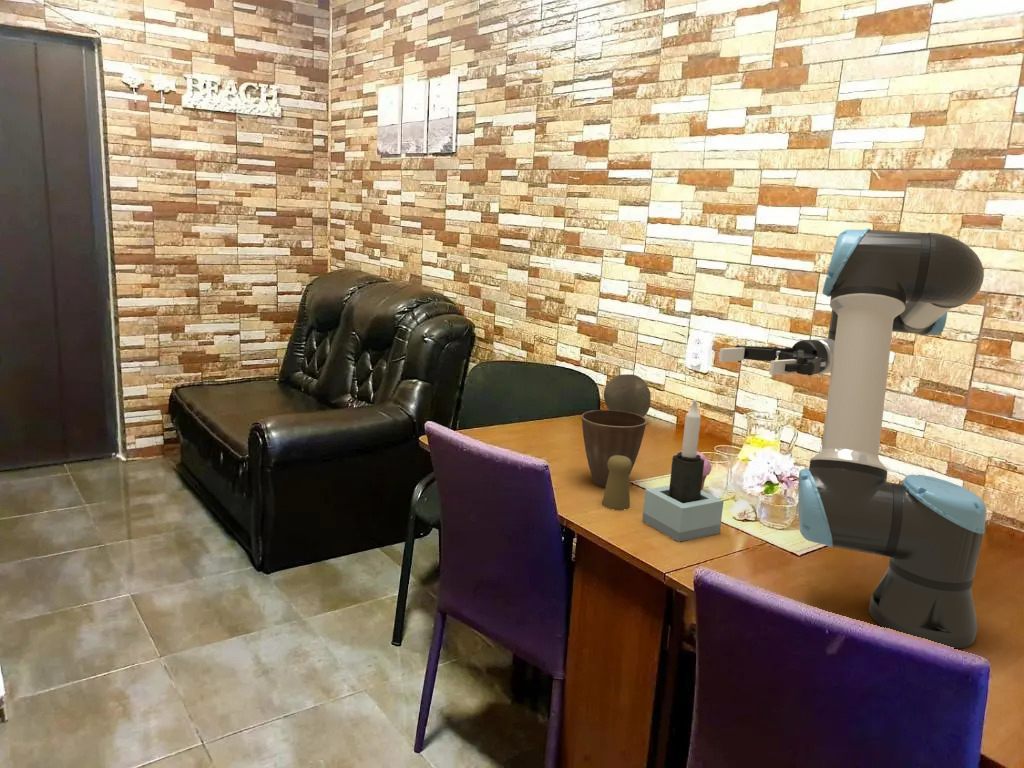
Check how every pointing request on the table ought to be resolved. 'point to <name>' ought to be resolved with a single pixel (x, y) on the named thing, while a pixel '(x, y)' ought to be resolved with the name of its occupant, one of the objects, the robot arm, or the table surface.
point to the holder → (682, 514)
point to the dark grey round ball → (627, 394)
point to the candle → (688, 462)
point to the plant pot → (610, 439)
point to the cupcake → (706, 468)
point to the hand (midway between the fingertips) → (745, 361)
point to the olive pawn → (617, 483)
